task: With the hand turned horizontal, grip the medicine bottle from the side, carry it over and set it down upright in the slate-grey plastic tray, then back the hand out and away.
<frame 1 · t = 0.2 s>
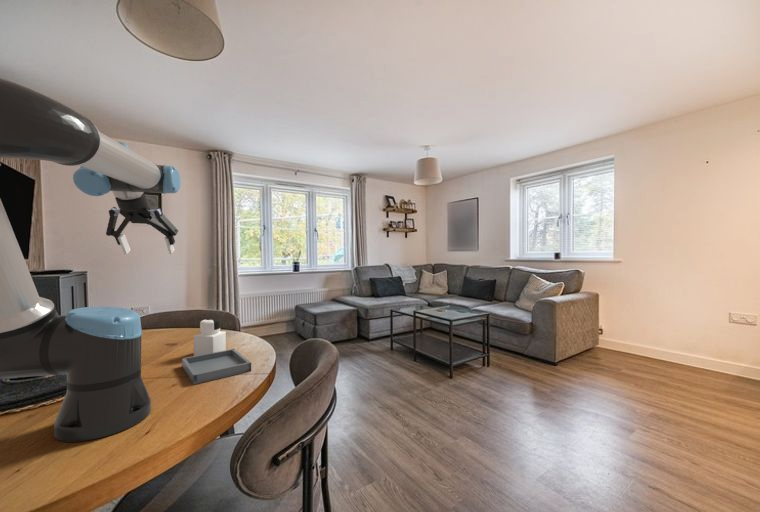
hand: (150, 252, 109), 35 cm above the table, tool tilted 35°, fingers open, 13 cm apart
tray: (216, 368, 95), on the table
medicine bottle: (210, 354, 108), on the table
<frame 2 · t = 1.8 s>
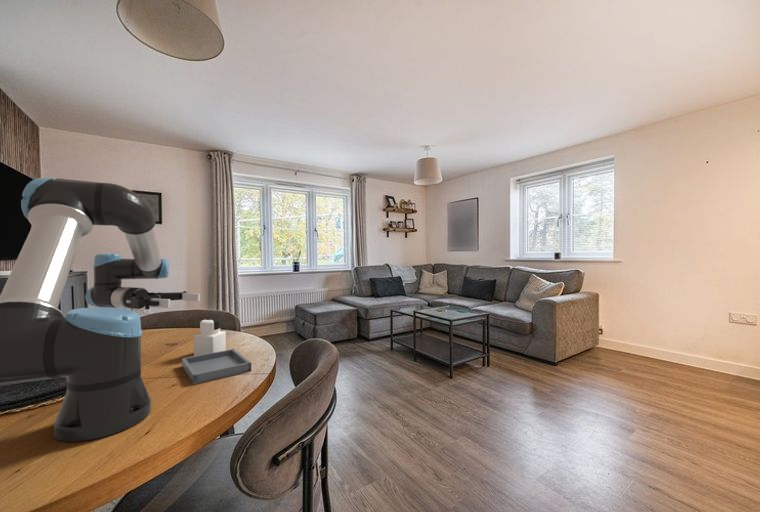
hand: (185, 300, 109), 18 cm above the table, tool horizontal, fingers open, 13 cm apart
nothing on the table moved.
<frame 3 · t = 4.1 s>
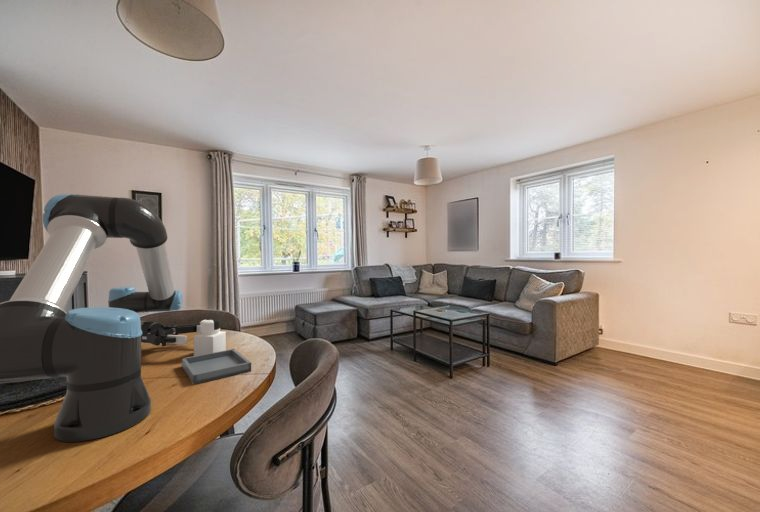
hand: (200, 334, 109), 6 cm above the table, tool horizontal, fingers open, 13 cm apart
nothing on the table moved.
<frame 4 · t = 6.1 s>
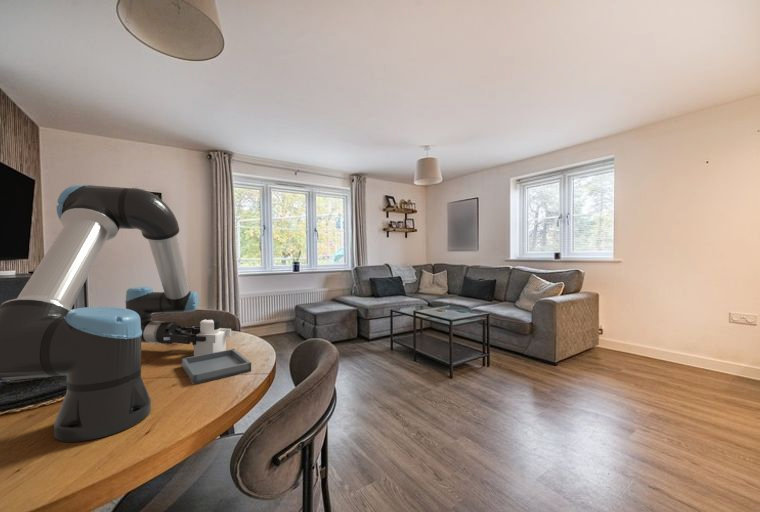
hand: (223, 335, 107), 7 cm above the table, tool horizontal, fingers closed on medicine bottle, 7 cm apart
medicine bottle: (210, 354, 108), on the table, touching gripper
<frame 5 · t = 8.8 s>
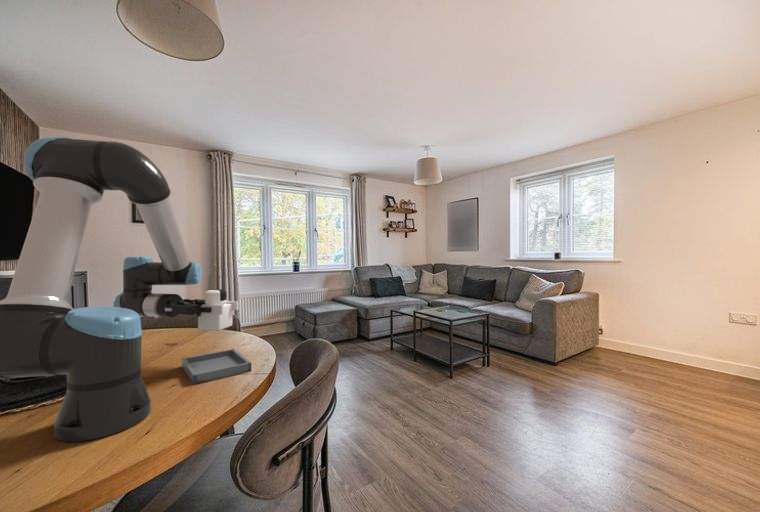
hand: (230, 307, 98), 18 cm above the table, tool horizontal, fingers closed on medicine bottle, 7 cm apart
medicine bottle: (215, 328, 99), point 11 cm above the table, touching gripper
when the fingers open (9 cm above the table, at t = 11.8 s): medicine bottle drops 1 cm, resting on tray.
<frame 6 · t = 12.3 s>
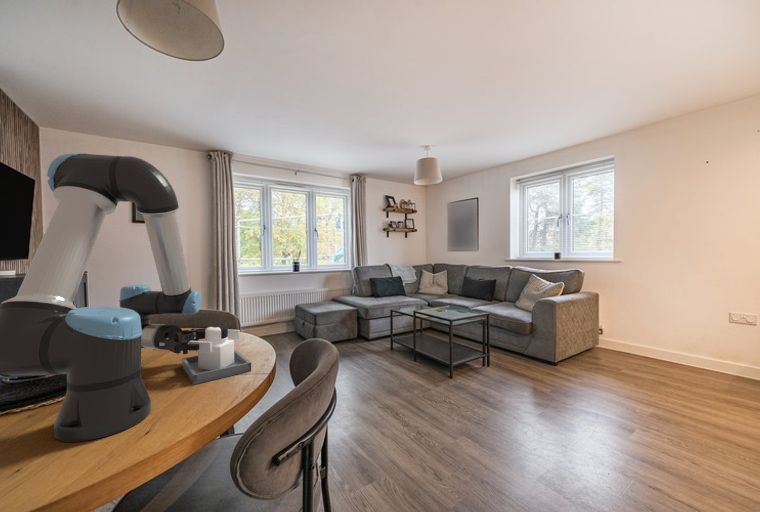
hand: (226, 340, 94), 9 cm above the table, tool horizontal, fingers open, 13 cm apart
medicine bottle: (216, 366, 95), point 1 cm above the table, touching tray
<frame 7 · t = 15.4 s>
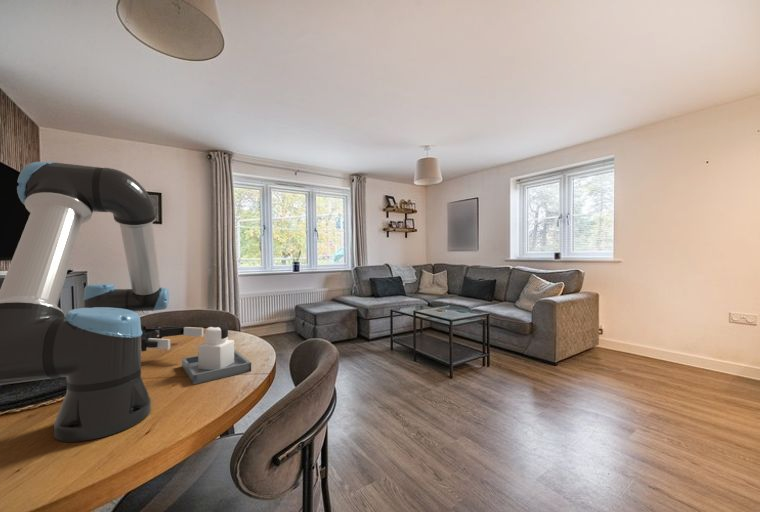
hand: (187, 337, 96), 9 cm above the table, tool horizontal, fingers open, 13 cm apart
nothing on the table moved.
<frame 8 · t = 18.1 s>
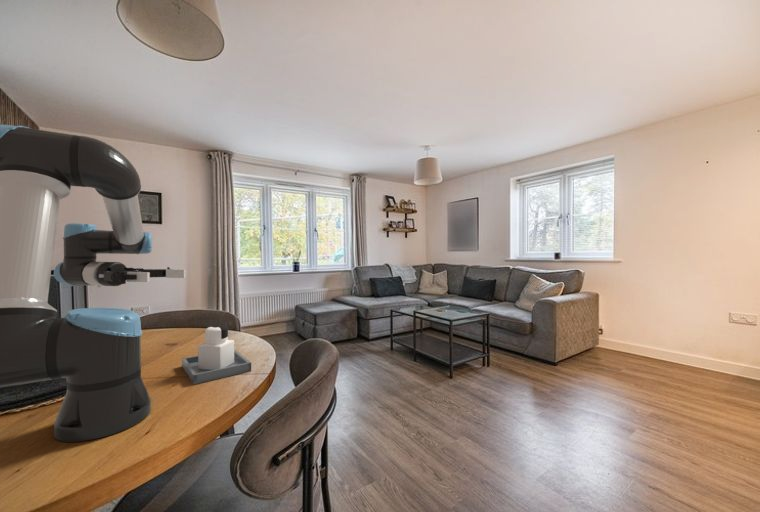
hand: (168, 275, 95), 28 cm above the table, tool horizontal, fingers open, 13 cm apart
nothing on the table moved.
at the end: medicine bottle inside the target area on the tray (0.2 cm from its centre), point 0.6 cm above the tray's base; medicine bottle tilted 0°; the gripper is holding nothing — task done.
